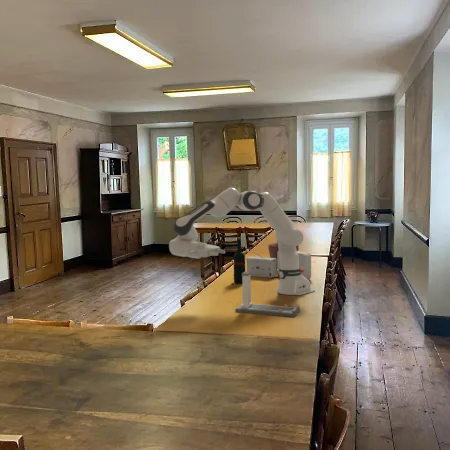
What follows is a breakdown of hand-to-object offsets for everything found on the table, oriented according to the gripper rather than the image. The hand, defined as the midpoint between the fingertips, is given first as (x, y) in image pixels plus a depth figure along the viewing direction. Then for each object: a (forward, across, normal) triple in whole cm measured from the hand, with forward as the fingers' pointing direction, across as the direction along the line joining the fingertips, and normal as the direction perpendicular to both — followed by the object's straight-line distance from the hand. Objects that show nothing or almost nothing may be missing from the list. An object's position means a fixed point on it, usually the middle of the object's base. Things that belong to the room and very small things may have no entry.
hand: (221, 253), depth 236 cm
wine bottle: (-9, +62, +28) cm, 68 cm away
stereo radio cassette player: (-2, +86, +27) cm, 90 cm away
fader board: (+27, 0, +27) cm, 38 cm away
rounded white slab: (+20, +89, +25) cm, 95 cm away
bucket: (+6, +118, +25) cm, 121 cm away
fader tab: (+16, 0, +26) cm, 30 cm away
